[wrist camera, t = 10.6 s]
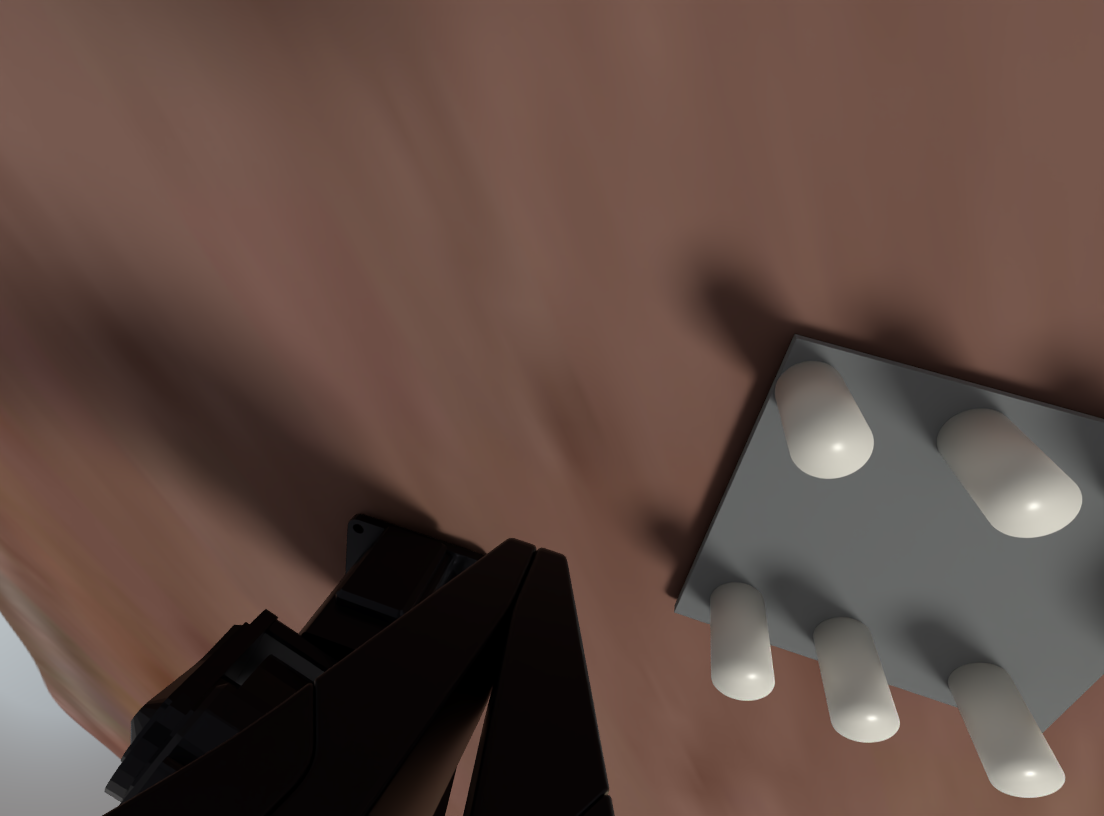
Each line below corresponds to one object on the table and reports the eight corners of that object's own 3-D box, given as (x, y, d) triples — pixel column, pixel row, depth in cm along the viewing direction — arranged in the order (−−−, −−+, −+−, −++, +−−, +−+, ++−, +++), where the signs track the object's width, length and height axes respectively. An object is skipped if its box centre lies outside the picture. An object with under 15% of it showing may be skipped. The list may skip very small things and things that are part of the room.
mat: (1034, 725, 22) (1040, 735, 21) (674, 604, 23) (674, 612, 23) (1293, 471, 16) (1306, 478, 16) (794, 333, 18) (796, 338, 17)
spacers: (992, 708, 21) (1039, 805, 18) (678, 603, 23) (674, 677, 20) (1213, 471, 16) (1332, 551, 13) (789, 352, 18) (807, 400, 14)
